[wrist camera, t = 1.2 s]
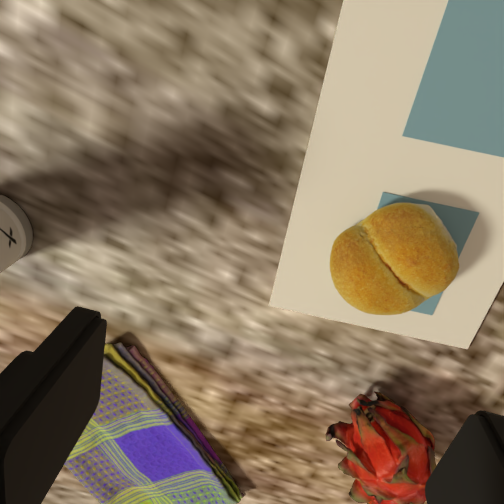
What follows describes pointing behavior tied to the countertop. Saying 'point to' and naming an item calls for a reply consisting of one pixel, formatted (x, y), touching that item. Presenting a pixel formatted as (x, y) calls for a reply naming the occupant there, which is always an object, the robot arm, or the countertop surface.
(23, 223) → the travel mug
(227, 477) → the dish towel
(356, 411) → the dragon fruit
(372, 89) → the placemat
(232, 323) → the countertop surface
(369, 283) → the bread roll
